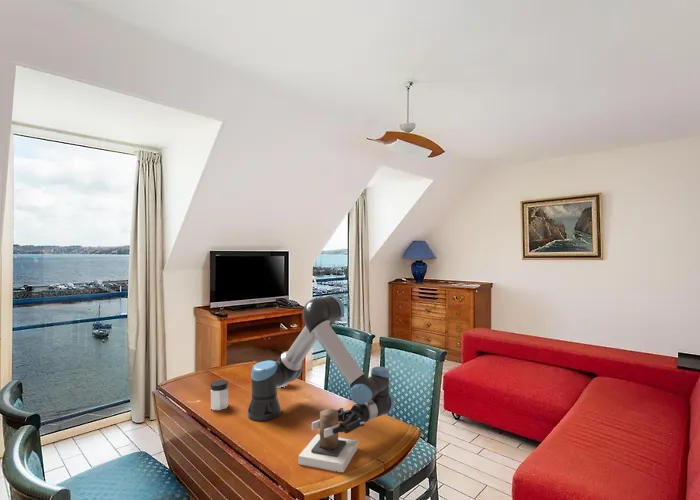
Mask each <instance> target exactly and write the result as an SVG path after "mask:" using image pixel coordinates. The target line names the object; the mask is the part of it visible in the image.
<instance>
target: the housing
mask: <svg viewBox="0 0 700 500" xmlns="http://www.w3.org/2000/svg"><path fill="white" fill-rule="evenodd" d="M358 442H359V440H356V439H350V438H343V437H338V447H337V448H335V449H334V450H326V449H323V448H321V447H320V433H317V434H316V435H315V436H314V437H313V438H312V439H311V440H310V442H309V443H308V444H307V445H306V446H305V447H304V448H303V450H301V452H300V453H299V455H298V458H297V459H298V463H297V464H298V465H301V466H304V467H309V468H310V467H311V468H317V469H320V470H321V469H322V470H327V471H331V472H336V471H337V473H341V472H342V473H341V474H343V473H344V472H345V471H346V469H347V467H348V465H349V463H350V462H351V461H352V459H353V457H354V456H355V453H356V452H357V450H358V449H359V448H358V447H359V446H358Z"/></svg>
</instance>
